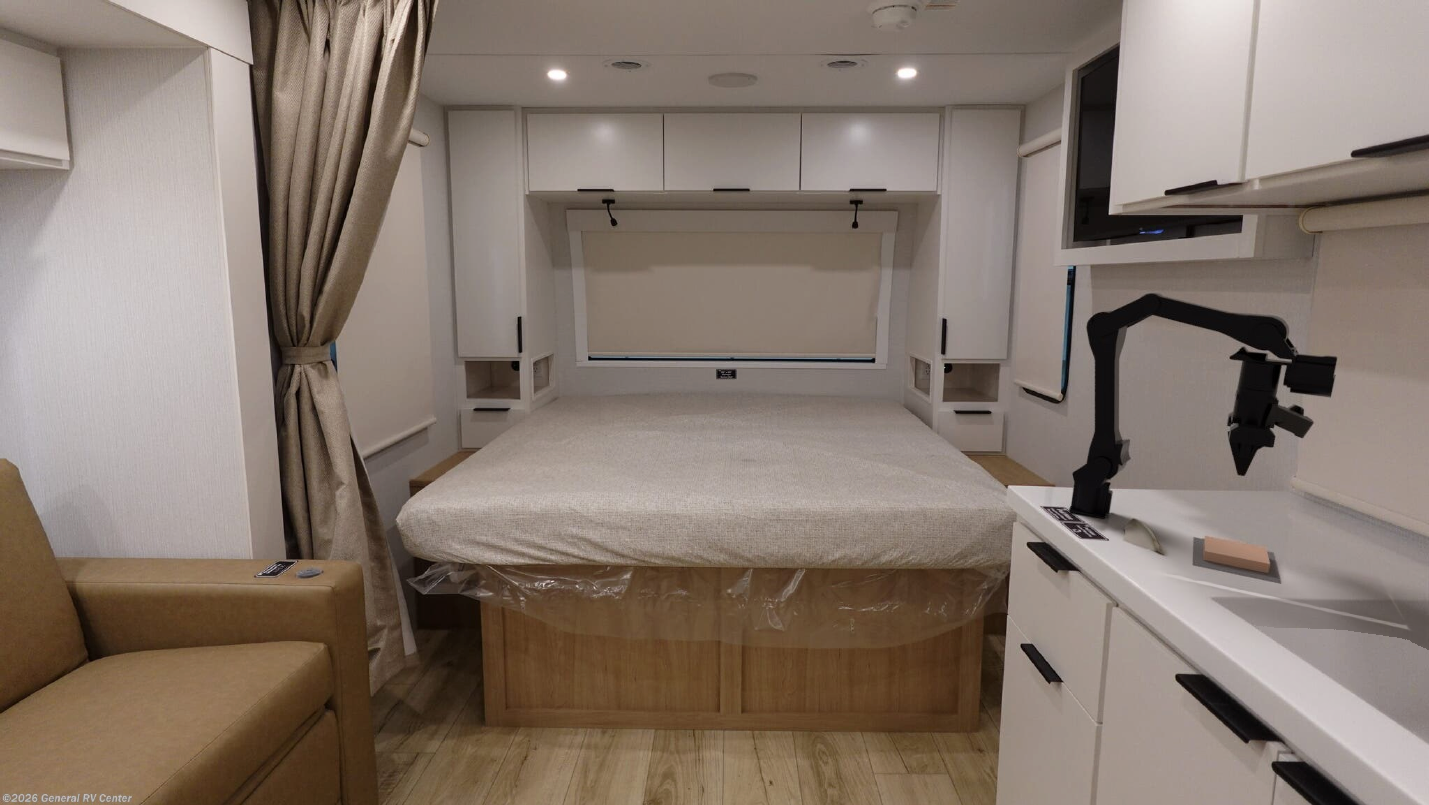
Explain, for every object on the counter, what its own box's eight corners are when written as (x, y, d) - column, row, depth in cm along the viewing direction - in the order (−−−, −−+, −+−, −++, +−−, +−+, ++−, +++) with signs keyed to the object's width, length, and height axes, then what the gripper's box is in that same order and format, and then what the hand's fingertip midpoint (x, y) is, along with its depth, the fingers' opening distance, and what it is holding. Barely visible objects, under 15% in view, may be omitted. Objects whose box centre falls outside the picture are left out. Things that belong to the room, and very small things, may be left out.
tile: (1203, 544, 139) (1203, 560, 132) (1204, 535, 139) (1204, 550, 131) (1264, 556, 135) (1268, 573, 127) (1266, 547, 134) (1270, 564, 127)
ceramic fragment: (1165, 560, 133) (1168, 538, 133) (1133, 557, 134) (1136, 535, 133) (1133, 532, 147) (1136, 512, 146) (1104, 530, 148) (1106, 510, 147)
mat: (1192, 567, 129) (1192, 564, 129) (1193, 539, 143) (1193, 537, 143) (1280, 586, 123) (1281, 583, 123) (1273, 555, 137) (1273, 552, 137)
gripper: (1321, 402, 124) (1302, 497, 127) (1308, 387, 140) (1291, 472, 143) (1237, 393, 130) (1221, 484, 133) (1234, 379, 145) (1219, 461, 148)
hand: (1241, 475), depth 139 cm, fingers closed
